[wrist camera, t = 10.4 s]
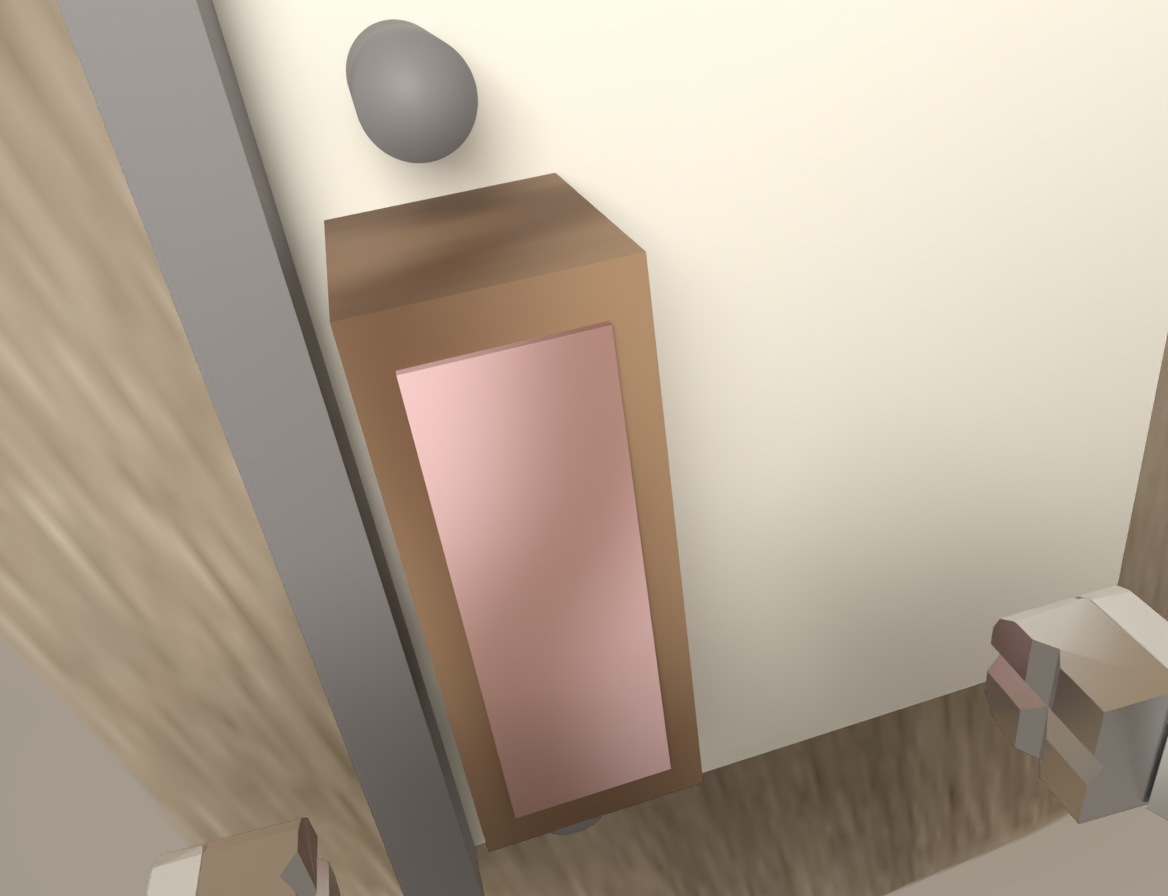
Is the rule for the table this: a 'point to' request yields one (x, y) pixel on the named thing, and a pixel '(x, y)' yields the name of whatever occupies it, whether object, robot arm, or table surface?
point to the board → (692, 315)
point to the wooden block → (526, 490)
